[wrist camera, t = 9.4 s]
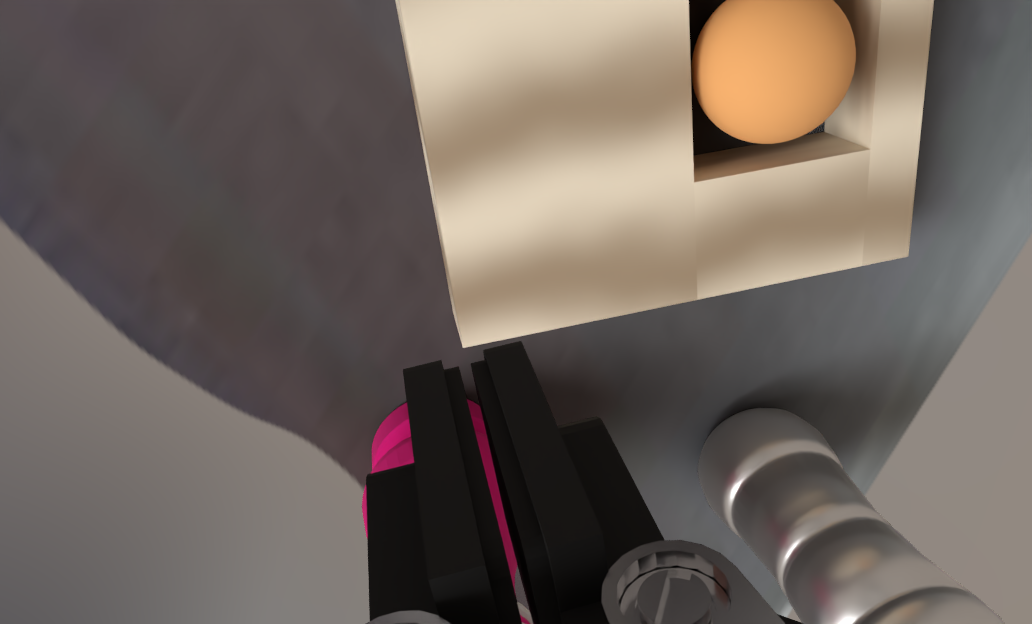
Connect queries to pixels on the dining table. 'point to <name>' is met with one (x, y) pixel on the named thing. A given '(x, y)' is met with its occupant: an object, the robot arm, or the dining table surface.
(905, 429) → the dining table surface
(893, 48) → the hole board
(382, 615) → the robot arm
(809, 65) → the ball
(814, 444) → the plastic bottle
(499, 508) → the pepper mill
